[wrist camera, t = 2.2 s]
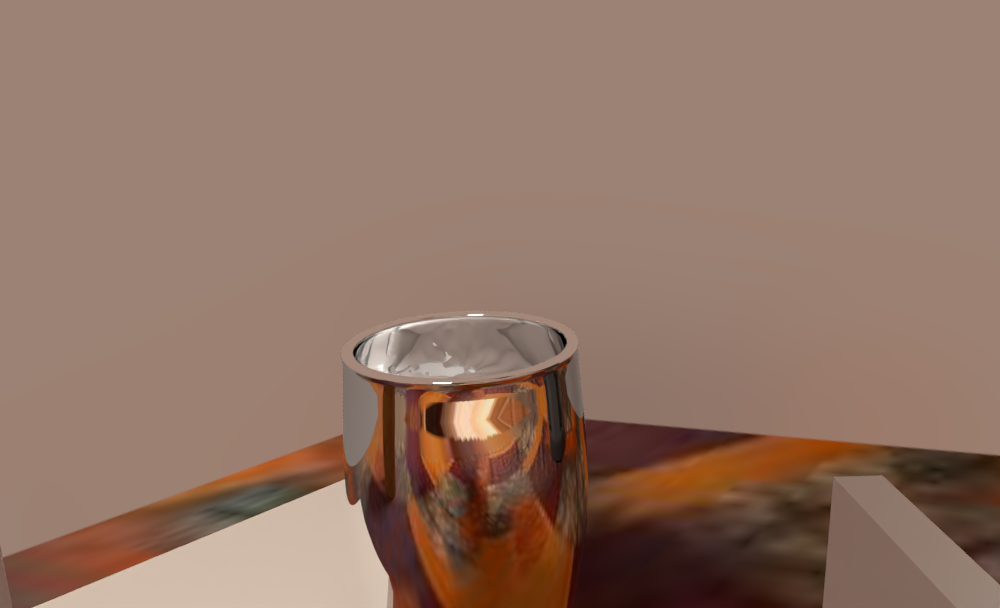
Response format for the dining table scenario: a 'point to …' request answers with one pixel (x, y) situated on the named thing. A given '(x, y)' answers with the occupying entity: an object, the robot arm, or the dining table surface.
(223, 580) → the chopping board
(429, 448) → the beer glass
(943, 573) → the robot arm
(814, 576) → the dining table surface
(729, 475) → the dining table surface
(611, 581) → the dining table surface
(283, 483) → the dining table surface
